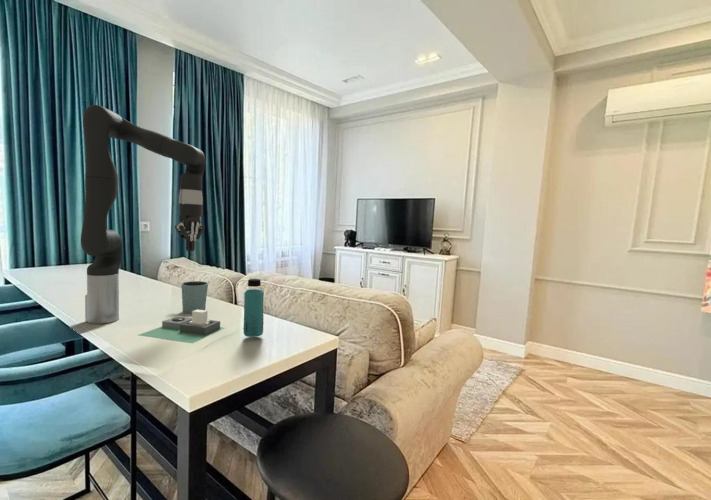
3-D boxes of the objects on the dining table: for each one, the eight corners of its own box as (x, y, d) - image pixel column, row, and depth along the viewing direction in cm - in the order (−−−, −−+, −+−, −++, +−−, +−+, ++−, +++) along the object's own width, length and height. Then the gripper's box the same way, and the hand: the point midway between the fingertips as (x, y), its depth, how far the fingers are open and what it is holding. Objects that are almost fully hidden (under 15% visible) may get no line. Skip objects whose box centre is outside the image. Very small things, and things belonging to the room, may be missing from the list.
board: (138, 339, 105) (138, 327, 105) (176, 325, 121) (176, 314, 120) (192, 348, 100) (192, 335, 100) (225, 332, 116) (225, 320, 116)
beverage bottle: (267, 336, 113) (268, 278, 112) (255, 343, 107) (256, 281, 106) (251, 333, 115) (252, 276, 114) (238, 339, 109) (239, 279, 108)
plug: (189, 330, 111) (189, 311, 111) (197, 327, 115) (197, 308, 115) (204, 332, 110) (204, 313, 109) (211, 329, 114) (212, 310, 113)
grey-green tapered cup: (191, 307, 145) (191, 280, 144) (212, 309, 144) (213, 282, 143) (175, 313, 135) (175, 284, 134) (198, 315, 134) (198, 286, 133)
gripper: (194, 204, 127) (194, 249, 128) (167, 201, 114) (167, 251, 115) (212, 204, 125) (211, 250, 126) (186, 202, 112) (185, 253, 113)
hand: (190, 251), depth 121 cm, fingers closed
